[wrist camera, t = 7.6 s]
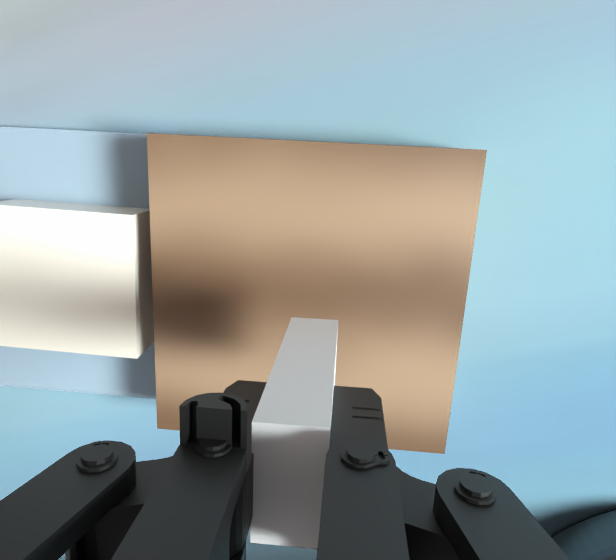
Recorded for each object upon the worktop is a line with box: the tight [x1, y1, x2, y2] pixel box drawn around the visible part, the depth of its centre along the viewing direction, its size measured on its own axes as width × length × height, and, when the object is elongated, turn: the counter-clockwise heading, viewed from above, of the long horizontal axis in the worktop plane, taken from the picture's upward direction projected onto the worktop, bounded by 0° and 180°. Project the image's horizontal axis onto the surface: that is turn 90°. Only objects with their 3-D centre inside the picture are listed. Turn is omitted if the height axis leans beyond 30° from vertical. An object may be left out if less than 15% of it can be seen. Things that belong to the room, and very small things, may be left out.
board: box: [147, 133, 487, 454], centre depth 20 cm, size 12×12×3 cm
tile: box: [0, 199, 154, 359], centre depth 21 cm, size 6×6×2 cm
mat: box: [0, 126, 156, 399], centre depth 22 cm, size 12×11×1 cm
